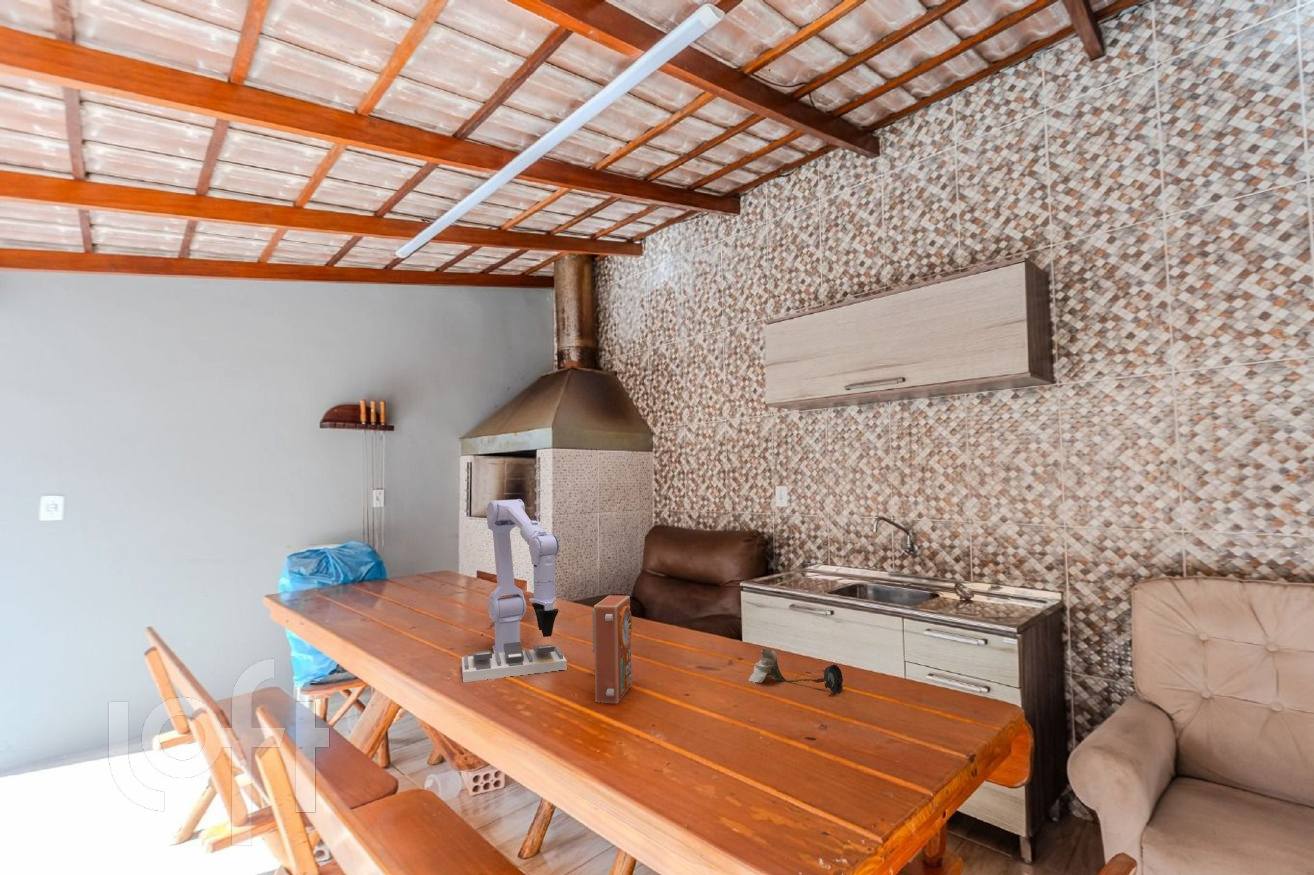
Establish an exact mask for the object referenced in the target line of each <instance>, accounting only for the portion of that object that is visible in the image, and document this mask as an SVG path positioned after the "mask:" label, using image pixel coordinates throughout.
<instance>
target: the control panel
mask: <svg viewBox="0 0 1314 875" xmlns="http://www.w3.org/2000/svg"><path fill="white" fill-rule="evenodd" d="M630 597H631V596H630V595H610V594H609V595H608V596H606V597H605V598H603V599H602V600H601V601H599V602H598V603H596V604H594V606H593V610H592V611H591V613H592V615H591V616H592V652H593V653H594V699H595V700H594V702H595V703H596V702H598V703H599V704H600V702H601V704H616V705H617V704H618V705H619V703H620V702H621V700H622V699H623V697H624V696H625V695H626V694H627V692H628V691H629V689H630V688H631V687H632V682H633V681H632V646H631V645H632V644H631V643H632V642H631V641H632V640H631V639H632V631H633V630H632V628H633V627H632V626H633V622H632V621H633V619H632V611H631V598H630ZM598 703H597V704H598Z"/></svg>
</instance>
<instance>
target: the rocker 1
mask: <svg viewBox="0 0 1314 875" xmlns="http://www.w3.org/2000/svg"><path fill="white" fill-rule="evenodd" d="M492 654H493V652H491V650H485V651H477V652H476V651H475V652H474V651H473V652H472V656H473V658H474V660H481V659H490V658H492Z"/></svg>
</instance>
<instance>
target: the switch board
mask: <svg viewBox="0 0 1314 875" xmlns="http://www.w3.org/2000/svg"><path fill="white" fill-rule="evenodd" d="M554 651H555V652H546V653H536V652H535V651H534V650H533V649H529V648H524V650H523V655H524V661H517V662H508V663H506V658H505V653H498V652H495V654H494V653H492V658H490V659H481V660H474V658H473V655H470V656H468V654H464V655H463V656H462V657H461V671H462V682H463V683H471V682H478V681H487V679H488V680H495V679H503V678H504V677H506V678H511V677H510V676H514V677H520V675H523V676H529V675H528V674H531V675H535V674H534V673H540V674H545V673H544V672H548V673H551V672H550V671H557V672H559V671H558V670H565V671H567V670H568V668H567V667H568V660H567V658H566V657H565V656H564V654H563V653H562V651H561V649H560V647H559V646H558V645H554Z"/></svg>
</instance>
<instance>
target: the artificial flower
mask: <svg viewBox="0 0 1314 875" xmlns="http://www.w3.org/2000/svg"><path fill="white" fill-rule="evenodd" d="M759 654H760V657H761V659H760V660H759V661H758V662H755V663H754V667H753V672H752V674H750V676H749V678H748V682H751V681H752V682H751V683H755V682H756V683H760V684H761V683H762V682H763V681H764V680H765V679H766V677H767V676H771V677H773V680H775V681H781V682H785V683H786V682H787V683H795V682H796V683H797V682H802V681H803V682H810V681H811V682H813V683H816V684H818V683H824V687H825V689H829V690H830V691H831V693H832V695H834V696H836V695H837V694H840V693H841V692H842V690H843V688H844V686H843V681H844V679H843V673H842V671H841V669H840V666H838V665H837V664H832V665H829V666H826V667H825V670H823V677H821V678H816V679H815V678H814V679H813V678H812V677H811V678H807V677H806V678H799V679H793V680H792V679H791V680H788V679H786V678H784V676H783V675H782V672H781V671H780V668H779V665H778V657H777V652H776V651H775V650H773V649H772V650H771V649H768V648H762V650H760V653H759Z"/></svg>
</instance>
